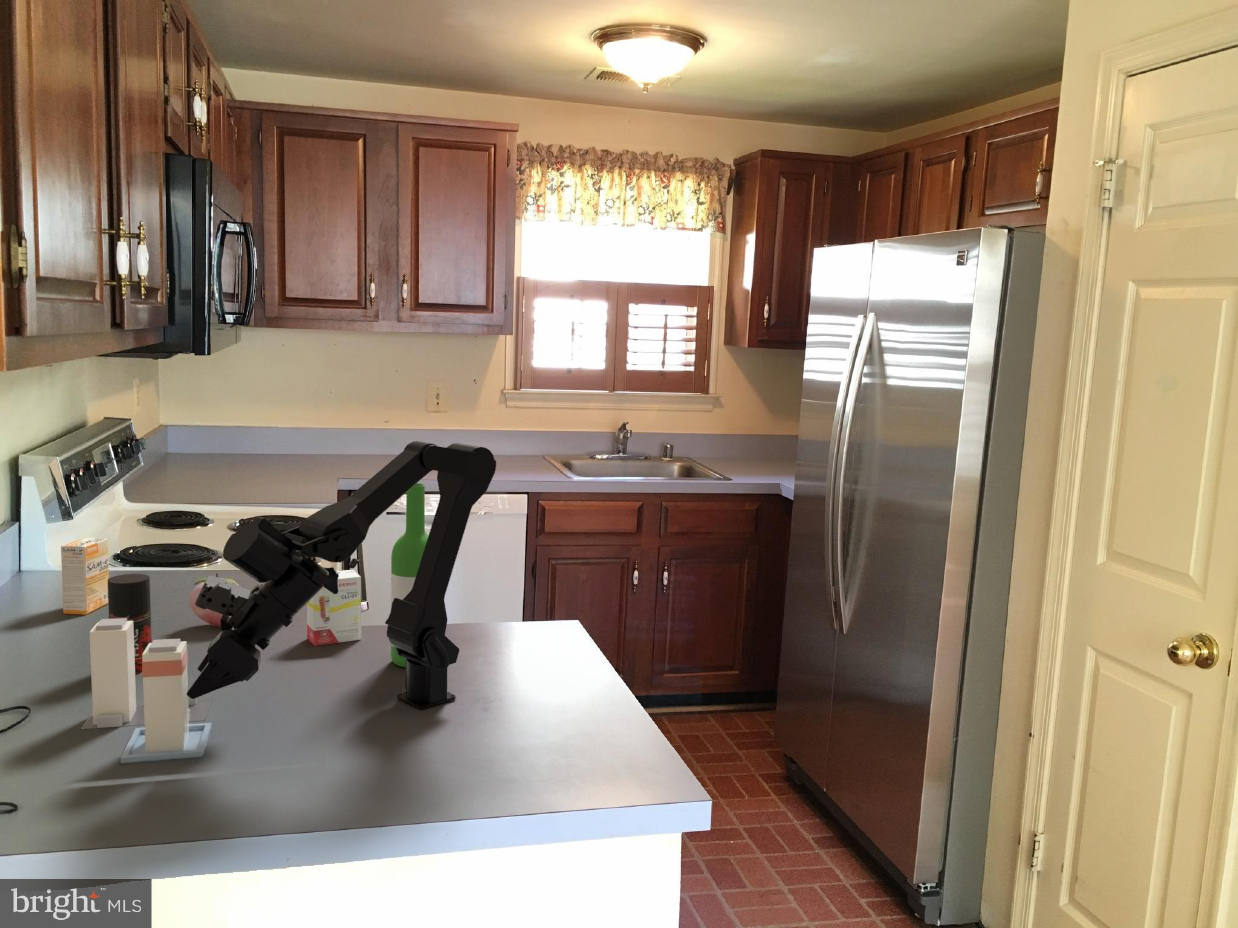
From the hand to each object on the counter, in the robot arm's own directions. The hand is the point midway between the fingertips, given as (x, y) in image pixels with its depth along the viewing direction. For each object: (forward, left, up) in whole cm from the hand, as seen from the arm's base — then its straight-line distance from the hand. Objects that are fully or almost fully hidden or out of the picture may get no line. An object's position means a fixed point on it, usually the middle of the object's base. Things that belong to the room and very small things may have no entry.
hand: (194, 683), depth 127 cm
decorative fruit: (+48, -24, -9) cm, 54 cm away
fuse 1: (+15, +5, -8) cm, 18 cm away
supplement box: (+74, -10, -9) cm, 75 cm away
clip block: (+13, +1, -8) cm, 16 cm away
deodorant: (+34, -4, -9) cm, 35 cm away
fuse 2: (+1, +3, -8) cm, 9 cm away
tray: (+1, +3, -8) cm, 9 cm away
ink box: (+28, -36, -9) cm, 46 cm away
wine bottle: (+9, -40, -9) cm, 42 cm away
